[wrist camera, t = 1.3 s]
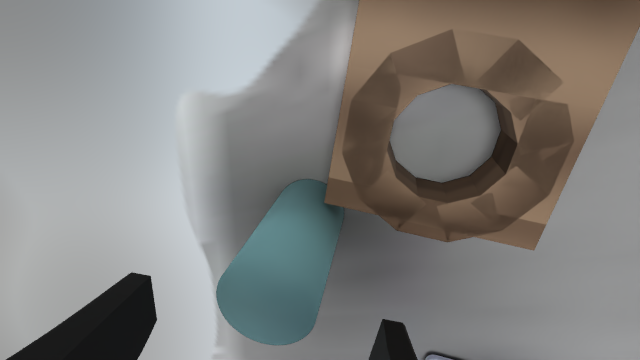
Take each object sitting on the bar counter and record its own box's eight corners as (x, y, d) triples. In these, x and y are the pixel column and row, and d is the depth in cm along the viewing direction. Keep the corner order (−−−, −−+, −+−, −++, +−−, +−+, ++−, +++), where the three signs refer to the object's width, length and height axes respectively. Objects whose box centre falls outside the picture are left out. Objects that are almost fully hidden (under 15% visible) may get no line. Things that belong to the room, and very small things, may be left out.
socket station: (512, 234, 19) (603, 385, 11) (330, 193, 20) (285, 300, 12) (672, -135, 13) (1192, -460, 4) (394, -161, 14) (392, -452, 6)
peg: (337, 246, 21) (309, 356, 14) (274, 232, 22) (215, 330, 14) (349, 187, 20) (324, 275, 12) (281, 172, 20) (218, 249, 13)
